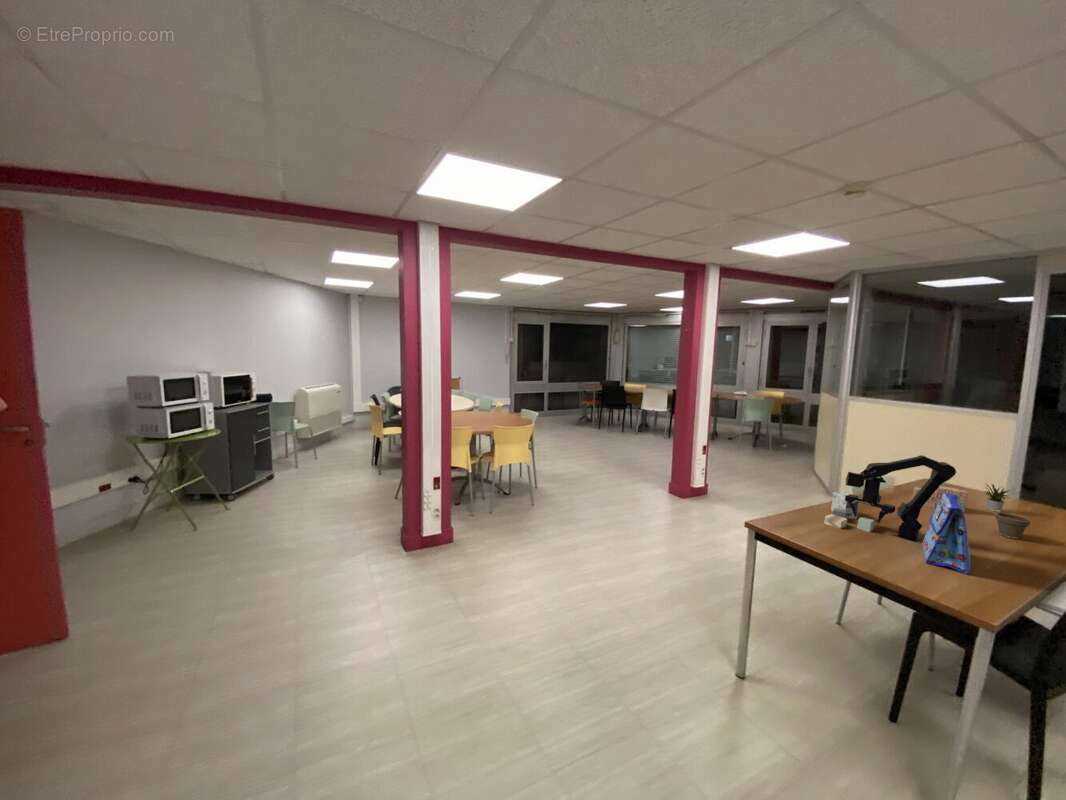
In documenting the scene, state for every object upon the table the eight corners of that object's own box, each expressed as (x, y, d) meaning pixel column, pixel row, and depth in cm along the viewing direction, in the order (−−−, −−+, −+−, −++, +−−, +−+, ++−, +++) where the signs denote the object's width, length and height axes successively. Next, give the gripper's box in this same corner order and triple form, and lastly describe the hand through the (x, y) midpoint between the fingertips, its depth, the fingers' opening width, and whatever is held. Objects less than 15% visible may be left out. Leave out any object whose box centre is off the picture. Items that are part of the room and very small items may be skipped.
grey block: (844, 519, 219) (845, 510, 219) (843, 522, 216) (845, 512, 215) (832, 516, 223) (834, 507, 222) (831, 519, 219) (833, 510, 218)
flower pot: (987, 529, 216) (991, 510, 215) (1019, 535, 210) (1024, 515, 209) (997, 537, 206) (1001, 517, 205) (1031, 544, 200) (1035, 523, 199)
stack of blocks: (913, 504, 248) (917, 484, 246) (911, 501, 253) (915, 481, 252) (964, 513, 237) (968, 492, 235) (960, 510, 242) (964, 489, 240)
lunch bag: (920, 545, 192) (931, 484, 188) (962, 556, 184) (975, 492, 180) (924, 563, 176) (936, 496, 172) (970, 576, 167) (984, 506, 163)
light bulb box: (857, 519, 220) (860, 499, 219) (843, 518, 220) (847, 498, 219) (842, 511, 231) (845, 492, 230) (830, 510, 231) (833, 491, 230)
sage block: (872, 529, 208) (874, 520, 207) (869, 532, 205) (871, 522, 204) (860, 526, 212) (862, 516, 211) (857, 528, 209) (858, 518, 208)
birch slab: (846, 526, 211) (847, 518, 210) (840, 529, 207) (841, 521, 206) (830, 521, 216) (831, 513, 216) (824, 523, 213) (825, 516, 212)
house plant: (966, 505, 250) (972, 479, 248) (981, 504, 254) (986, 478, 252) (999, 515, 237) (1004, 487, 234) (1014, 513, 241) (1020, 486, 239)
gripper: (901, 492, 203) (895, 523, 205) (854, 481, 218) (850, 510, 220) (894, 496, 196) (888, 528, 198) (846, 484, 211) (842, 514, 213)
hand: (866, 520), depth 208 cm, fingers open, 9 cm apart
